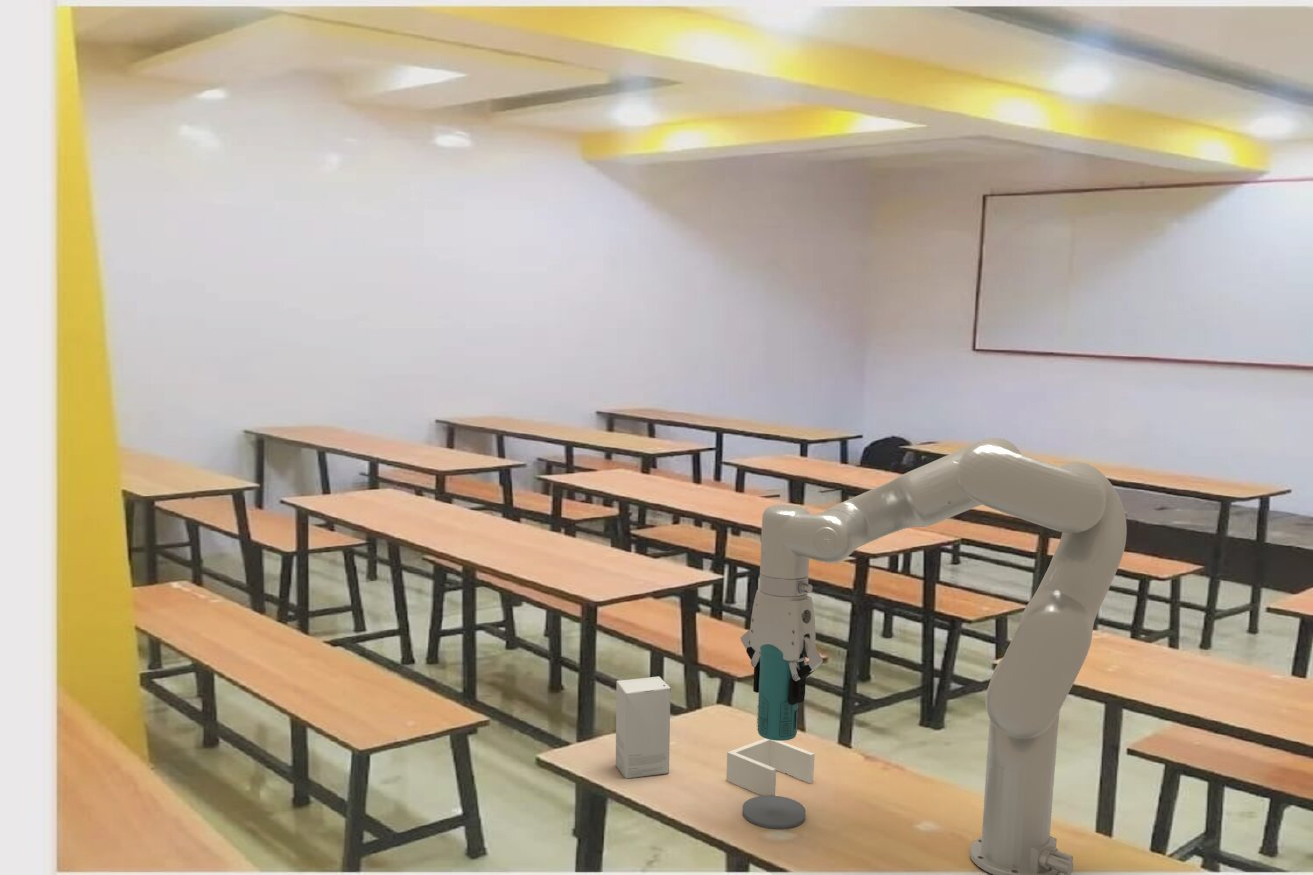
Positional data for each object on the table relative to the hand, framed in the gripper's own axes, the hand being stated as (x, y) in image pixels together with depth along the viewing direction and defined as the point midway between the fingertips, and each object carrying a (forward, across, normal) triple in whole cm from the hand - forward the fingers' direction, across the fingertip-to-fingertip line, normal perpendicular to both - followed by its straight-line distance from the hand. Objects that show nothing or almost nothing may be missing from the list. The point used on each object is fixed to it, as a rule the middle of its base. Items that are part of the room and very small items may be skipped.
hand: (778, 695), depth 183 cm
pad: (+20, 0, 0) cm, 20 cm away
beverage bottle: (+8, 0, 0) cm, 8 cm away
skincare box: (+20, +26, +4) cm, 33 cm away
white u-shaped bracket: (+20, +8, -10) cm, 23 cm away
